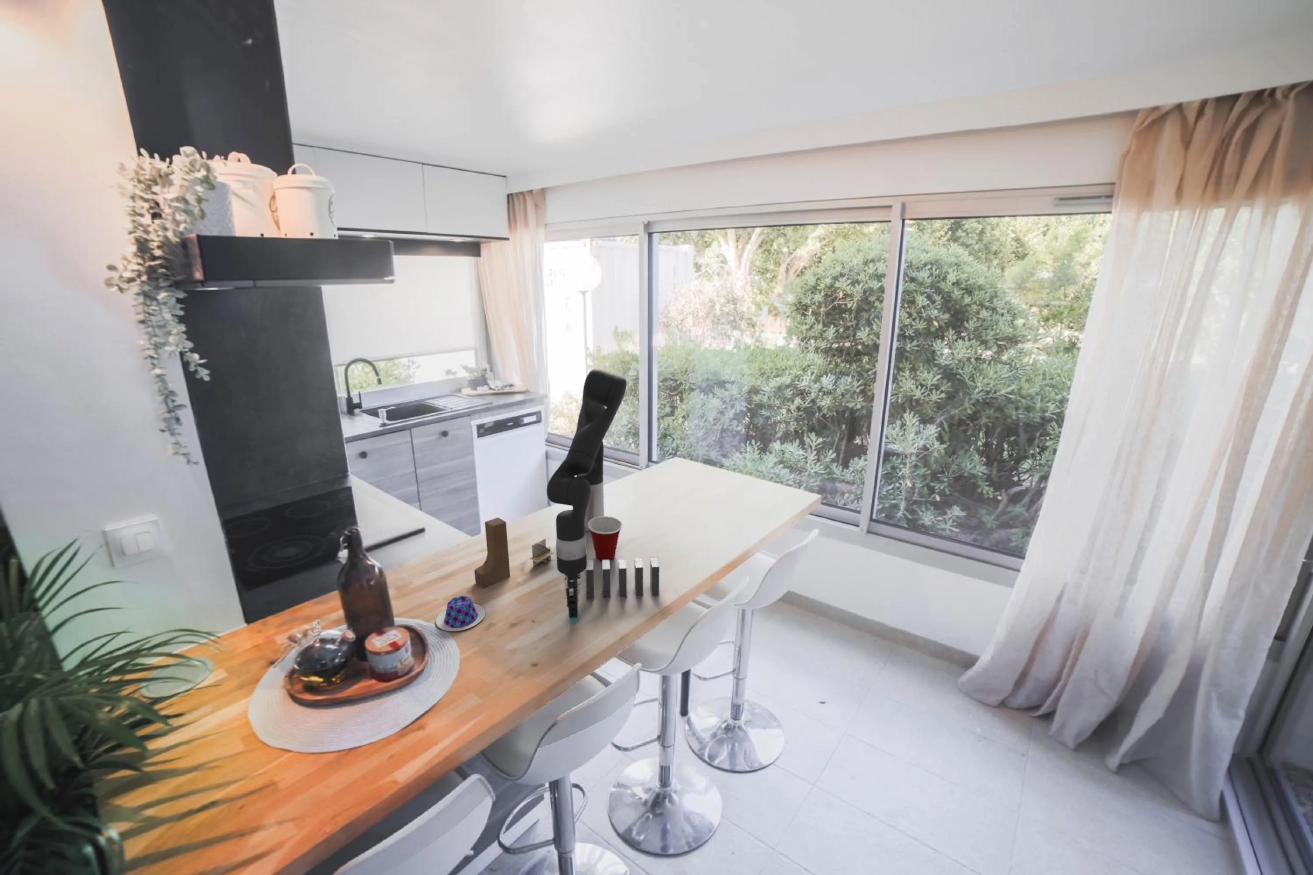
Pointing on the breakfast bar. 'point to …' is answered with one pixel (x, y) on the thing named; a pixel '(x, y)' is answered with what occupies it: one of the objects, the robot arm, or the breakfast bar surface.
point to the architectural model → (540, 552)
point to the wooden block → (494, 555)
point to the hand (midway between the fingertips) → (573, 609)
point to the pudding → (460, 614)
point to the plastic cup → (605, 536)
